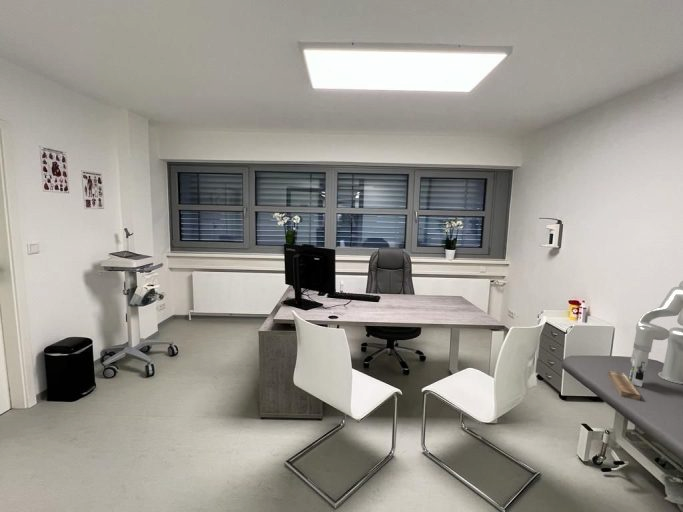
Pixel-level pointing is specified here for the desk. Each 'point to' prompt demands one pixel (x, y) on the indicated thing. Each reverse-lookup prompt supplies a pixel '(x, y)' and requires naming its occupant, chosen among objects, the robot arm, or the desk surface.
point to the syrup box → (633, 375)
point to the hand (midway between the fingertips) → (636, 376)
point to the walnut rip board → (624, 385)
